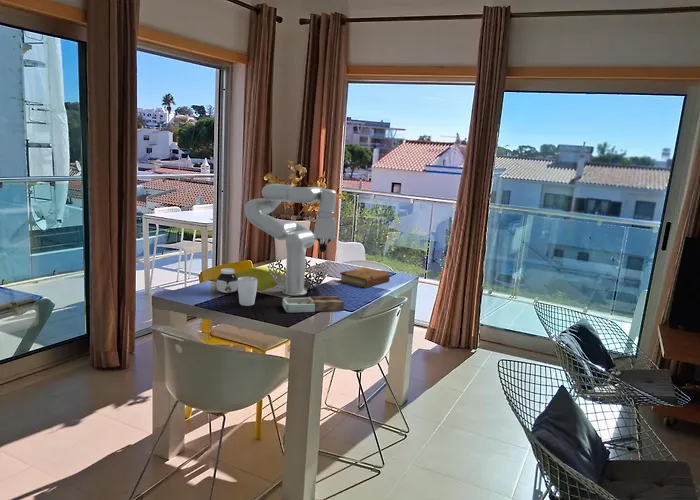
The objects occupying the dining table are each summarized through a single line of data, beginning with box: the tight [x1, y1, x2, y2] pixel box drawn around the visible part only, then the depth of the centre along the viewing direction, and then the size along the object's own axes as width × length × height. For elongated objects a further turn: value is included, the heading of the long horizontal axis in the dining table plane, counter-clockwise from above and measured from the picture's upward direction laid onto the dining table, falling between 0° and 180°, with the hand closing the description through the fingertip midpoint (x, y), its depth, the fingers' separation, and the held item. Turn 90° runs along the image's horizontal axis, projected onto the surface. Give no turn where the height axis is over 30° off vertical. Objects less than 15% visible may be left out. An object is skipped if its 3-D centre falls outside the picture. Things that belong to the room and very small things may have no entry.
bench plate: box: [309, 295, 345, 312], centre depth 251 cm, size 14×9×4 cm, turn 107°
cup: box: [237, 276, 258, 307], centre depth 248 cm, size 9×9×12 cm
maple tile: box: [301, 296, 314, 304], centre depth 248 cm, size 5×5×2 cm
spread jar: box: [216, 267, 239, 295], centre depth 266 cm, size 12×11×12 cm
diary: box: [339, 266, 390, 289], centre depth 307 cm, size 23×19×6 cm
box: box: [281, 297, 316, 313], centre depth 247 cm, size 13×11×4 cm
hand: (322, 251), depth 263 cm, fingers closed
